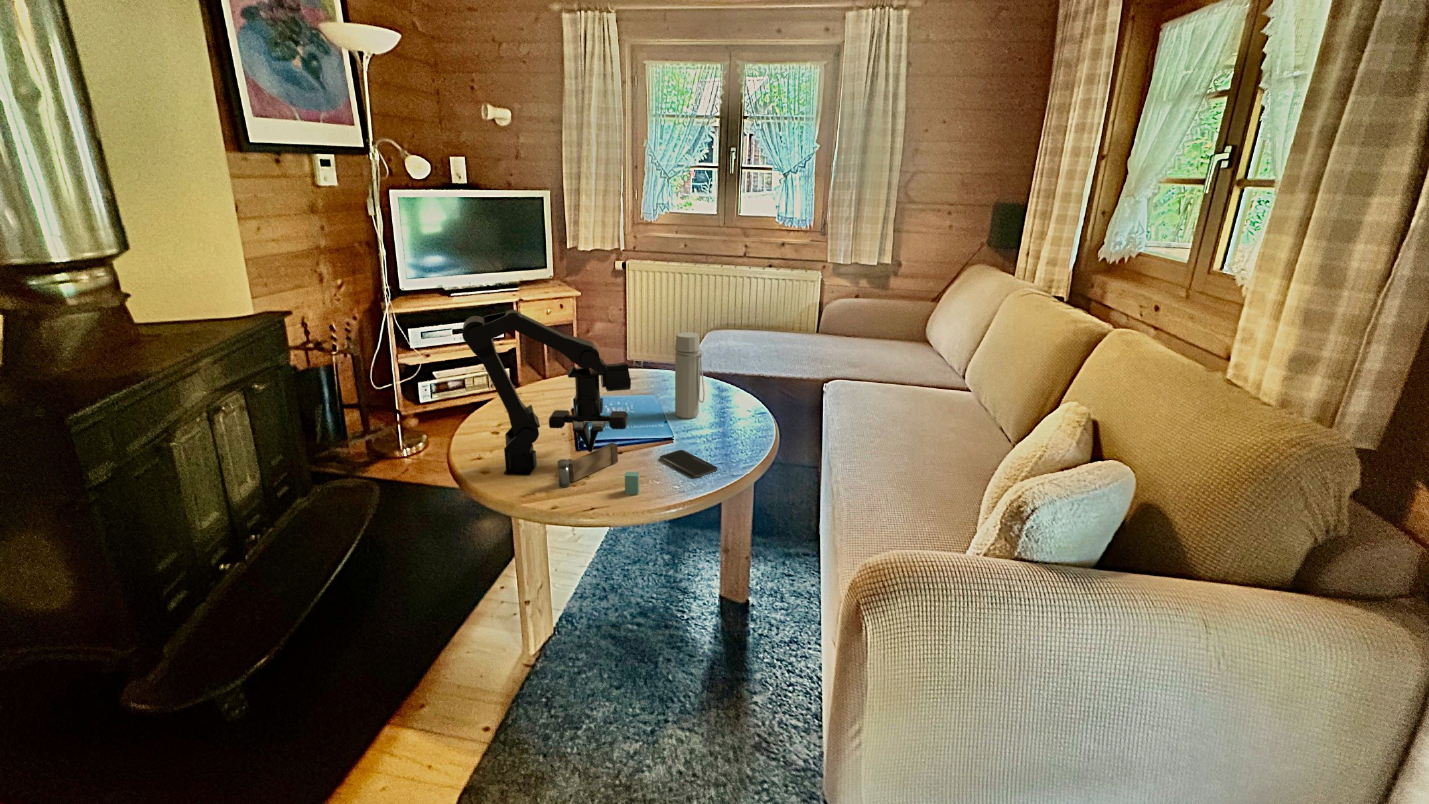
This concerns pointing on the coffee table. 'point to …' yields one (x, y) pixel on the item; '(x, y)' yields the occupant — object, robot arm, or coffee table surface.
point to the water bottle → (687, 375)
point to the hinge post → (564, 477)
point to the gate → (590, 461)
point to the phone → (688, 464)
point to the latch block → (631, 482)
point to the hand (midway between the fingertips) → (590, 451)
